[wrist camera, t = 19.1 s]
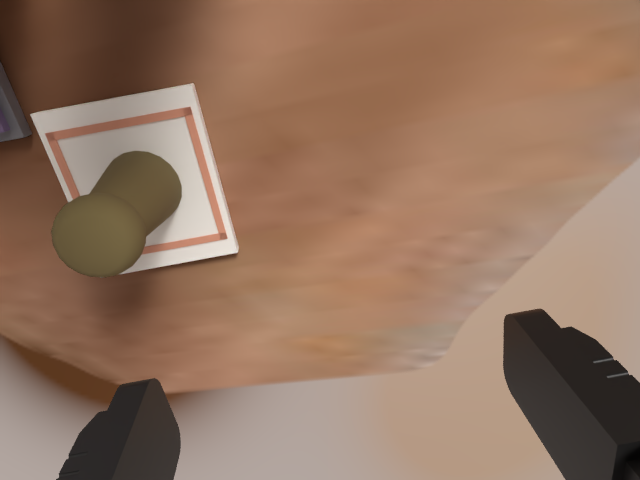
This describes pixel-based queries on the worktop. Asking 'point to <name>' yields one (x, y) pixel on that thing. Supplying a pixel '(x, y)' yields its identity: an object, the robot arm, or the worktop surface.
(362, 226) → the worktop surface
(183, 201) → the marked board
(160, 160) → the olive rounded piece
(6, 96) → the ink pad
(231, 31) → the worktop surface
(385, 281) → the worktop surface
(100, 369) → the worktop surface
